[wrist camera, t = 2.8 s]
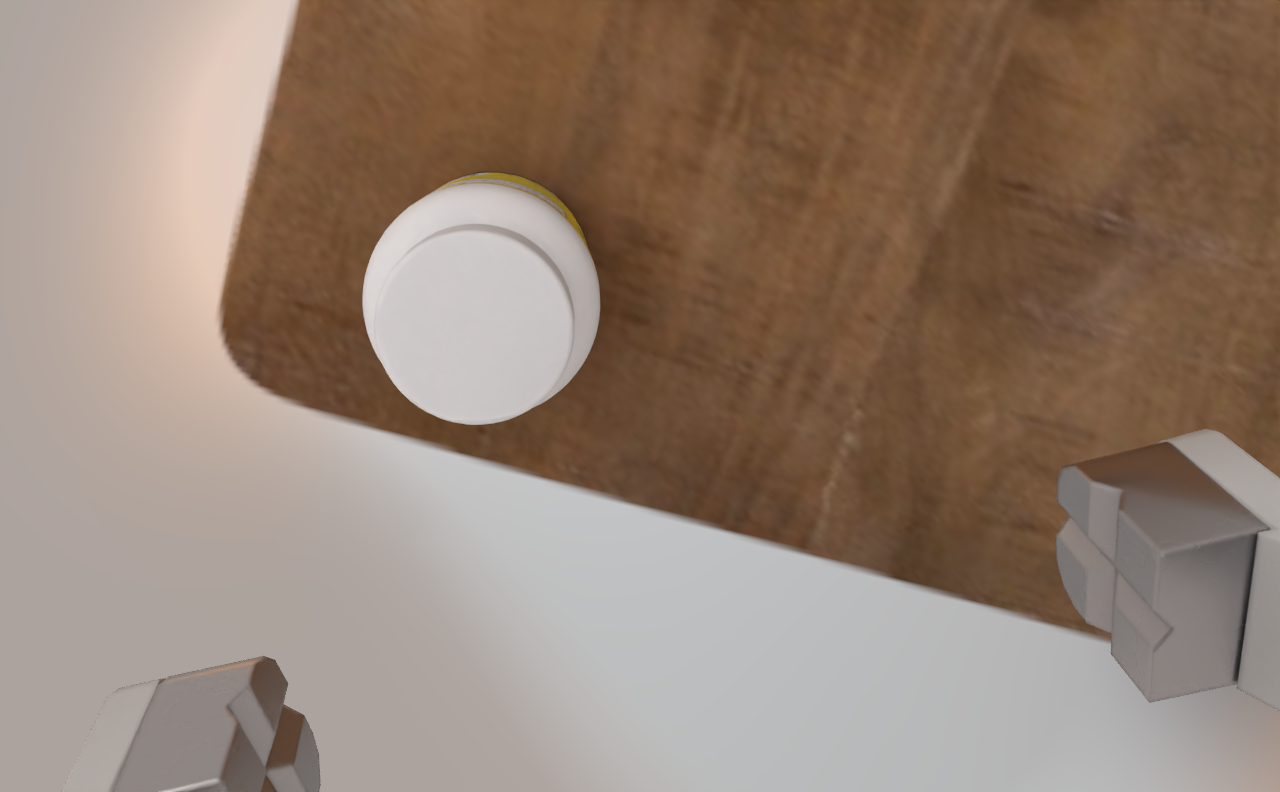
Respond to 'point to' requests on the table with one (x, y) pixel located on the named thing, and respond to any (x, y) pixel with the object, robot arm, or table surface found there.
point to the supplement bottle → (482, 298)
